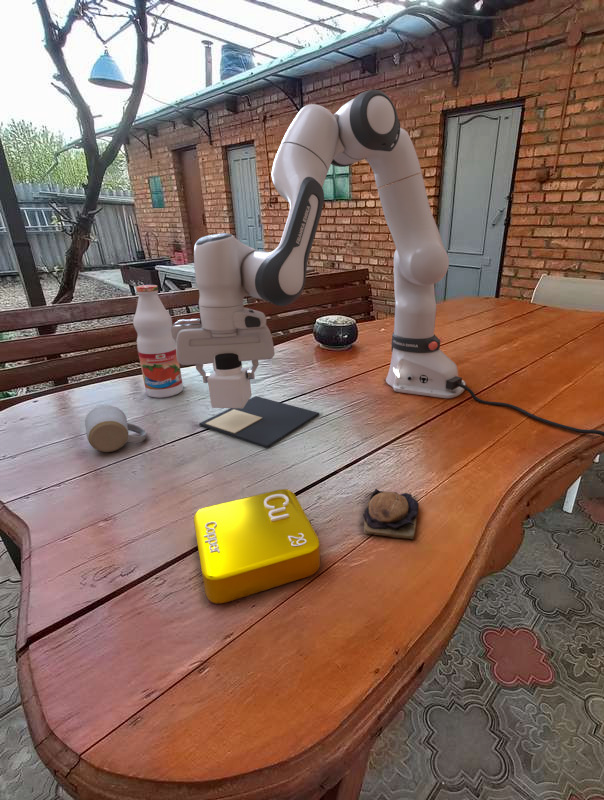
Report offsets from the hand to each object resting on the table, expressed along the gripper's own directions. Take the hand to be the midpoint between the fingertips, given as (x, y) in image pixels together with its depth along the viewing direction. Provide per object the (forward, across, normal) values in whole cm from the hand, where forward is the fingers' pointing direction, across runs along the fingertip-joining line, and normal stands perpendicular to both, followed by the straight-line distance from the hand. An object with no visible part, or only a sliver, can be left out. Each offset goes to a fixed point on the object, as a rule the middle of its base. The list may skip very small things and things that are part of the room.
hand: (229, 380), depth 93 cm
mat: (+10, +6, 0) cm, 12 cm away
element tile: (+11, +3, -43) cm, 44 cm away
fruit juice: (+11, -18, +24) cm, 32 cm away
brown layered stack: (+11, +24, -40) cm, 48 cm away
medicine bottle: (+5, 0, 0) cm, 5 cm away
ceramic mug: (+11, -24, -4) cm, 26 cm away
